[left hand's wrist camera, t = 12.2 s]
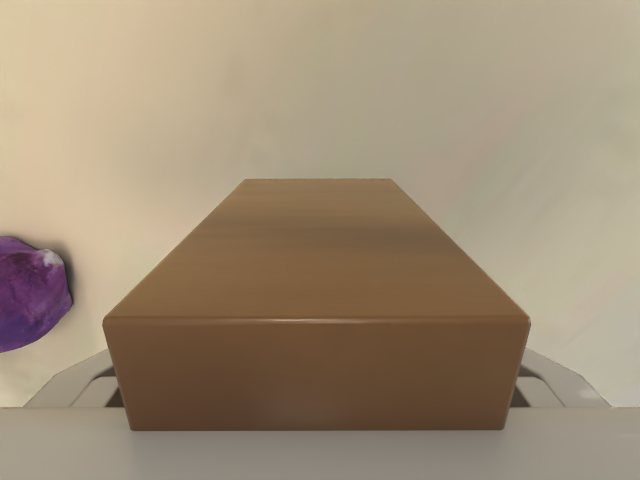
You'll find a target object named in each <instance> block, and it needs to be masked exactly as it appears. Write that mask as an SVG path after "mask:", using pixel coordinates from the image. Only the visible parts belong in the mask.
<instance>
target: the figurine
mask: <svg viewBox="0 0 640 480" xmlns="http://www.w3.org/2000/svg"><path fill="white" fill-rule="evenodd" d="M71 305H72V299H71V295H70V294H69V292H68V286H67V279H66V274H65V268H64V263H63V261H62V259H61V258H60V256H59V255H58V254H57V253H56V252H54V251H53V250H49V249H42V250H37V249H35V248H32V247H31V246H28V245H26V244H25V243H23V242H20V241H19V240H17V239H15V238H13V237H9V236H3V237H0V353H2V352H6V351H10V350H14V349H17V348H21V347H23V346H26V345H28V344H30V343H33V342H35V341H37V340H38V339H40V338H41V337H43V336H44V335H45V334H47V333H48V332H49V331H50V330H51V329H52V328H53V327H54V326H55V325H56V324H57V323H58V322H59V320H60V319H61V318H62V317H63V316H64V315H65V314H66V312H67V311H68V310H69V309H70V307H71Z"/></svg>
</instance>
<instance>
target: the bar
mask: <svg viewBox="0 0 640 480" xmlns="http://www.w3.org/2000/svg"><path fill="white" fill-rule="evenodd" d="M102 326H103V330H104V333H105V337H106V341H107V345H108V348H109V352H110V356H111V359H112V363H113V367H114V371H115V374H116V378H117V382H118V385H119V389H120V393H121V397H122V400H123V404H124V408H125V412H126V415H127V419H128V423H129V426H130V430H132V431H431V430H502V429H504V427H505V423H506V420H507V416H508V412H509V408H510V404H511V400H512V396H513V392H514V389H515V385H516V381H517V377H518V373H519V369H520V365H521V362H522V358H523V354H524V350H525V346H526V342H527V338H528V334H529V331H530V327H531V320H530V317H529V316H528V315H527V314H526V313H525V312H524V311H523V310H522V309H521V308H520V307H519V306H518V305H517V304H516V303H515V302H514V301H513V300H512V299H511V298H510V297H509V296H508V295H507V294H506V293H505V292H504V291H503V290H502V289H501V288H500V287H499V286H498V285H497V284H496V283H495V282H494V281H493V280H492V279H491V278H490V277H489V276H488V275H487V274H486V273H485V272H484V271H483V270H482V269H481V268H480V267H479V266H478V265H477V264H476V263H475V262H474V261H473V260H472V259H471V258H470V257H469V256H468V255H467V254H466V253H465V252H464V251H463V250H462V249H461V248H460V247H459V246H458V245H457V244H456V243H455V242H454V241H453V240H452V239H451V238H450V237H449V236H448V235H447V234H446V233H445V232H444V231H443V230H442V229H441V228H440V227H439V226H438V225H437V224H436V223H435V222H434V221H433V220H432V219H431V218H430V217H429V216H428V215H427V214H426V213H425V212H424V211H423V210H422V209H421V208H420V207H419V206H418V205H417V204H416V203H415V202H414V201H413V200H412V199H411V198H410V197H409V196H408V195H407V194H406V193H405V192H404V191H403V190H402V189H401V188H400V187H399V186H398V185H397V184H396V183H395V182H394V181H393V180H392V179H245V180H244V181H243V182H242V183H241V184H240V185H239V186H238V187H237V188H236V189H235V190H234V191H233V192H232V193H231V194H230V195H229V196H227V197H226V198H225V199H224V200H223V201H222V202H221V203H220V204H219V205H218V206H217V207H216V208H215V209H214V210H213V211H212V212H211V213H210V214H209V215H208V216H207V217H206V218H205V219H204V220H203V221H202V222H201V223H200V224H199V225H198V226H197V227H196V228H195V229H194V230H193V231H192V232H191V233H190V234H189V235H188V236H187V237H186V238H185V239H184V240H183V241H182V242H181V243H180V244H179V245H178V246H177V247H176V248H175V249H174V250H172V251H171V252H170V253H169V254H168V255H167V256H166V257H165V258H164V259H163V260H162V261H161V262H160V263H159V264H158V265H157V266H156V267H155V268H154V269H153V270H152V271H151V272H150V273H149V274H148V275H147V276H146V277H145V278H144V279H143V280H142V281H141V282H140V283H139V284H138V285H137V286H136V287H135V288H134V289H133V290H132V291H131V292H130V293H129V294H128V295H127V296H126V297H125V298H124V299H123V300H122V301H121V302H120V303H118V304H117V305H116V306H115V307H114V308H113V309H112V310H111V311H110V312H109V313H108V314H107V315H106V316H105V317H104V319H103V324H102Z"/></svg>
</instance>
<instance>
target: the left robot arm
mask: <svg viewBox="0 0 640 480" xmlns="http://www.w3.org/2000/svg"><path fill="white" fill-rule="evenodd" d="M0 480H640V407H611V406H610V405H609V404H608V403H607V401H606V400H605V399H604V398H603V397H602V396H601V395H600V394H599V393H598V392H597V391H596V390H595V389H594V388H593V387H592V386H591V385H590V384H589V383H588V382H587V381H586V380H585V379H584V378H583V377H582V376H581V375H579V374H577V373H575V372H573V371H571V370H569V369H567V368H565V367H563V366H561V365H559V364H557V363H555V362H553V361H551V360H549V359H547V358H546V357H544V356H542V355H540V354H538V353H536V352H534V351H532V350H530V349H528V348H526V347H525V350H524V354H523V358H522V362H521V365H520V369H519V373H518V377H517V381H516V385H515V389H514V392H513V396H512V400H511V404H510V408H509V412H508V416H507V420H506V423H505V427H504V429H502V430H431V431H132V430H130V426H129V423H128V419H127V415H126V412H125V408H124V404H123V400H122V397H121V393H120V389H119V385H118V382H117V378H116V374H115V371H114V367H113V363H112V359H111V356H110V352H109V348H108V349H106V350H104V351H102V352H100V353H98V354H96V355H94V356H92V357H90V358H88V359H86V360H84V361H82V362H80V363H78V364H76V365H74V366H72V367H70V368H68V369H66V370H64V371H62V372H60V373H58V374H56V375H54V376H53V377H52V378H51V379H50V380H49V381H48V382H47V383H46V384H45V385H44V386H43V387H42V388H41V389H40V390H39V391H38V392H37V393H36V394H35V395H34V396H33V397H32V398H31V399H30V400H29V401H28V402H27V403H26V404H25V405H24V407H0Z"/></svg>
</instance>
